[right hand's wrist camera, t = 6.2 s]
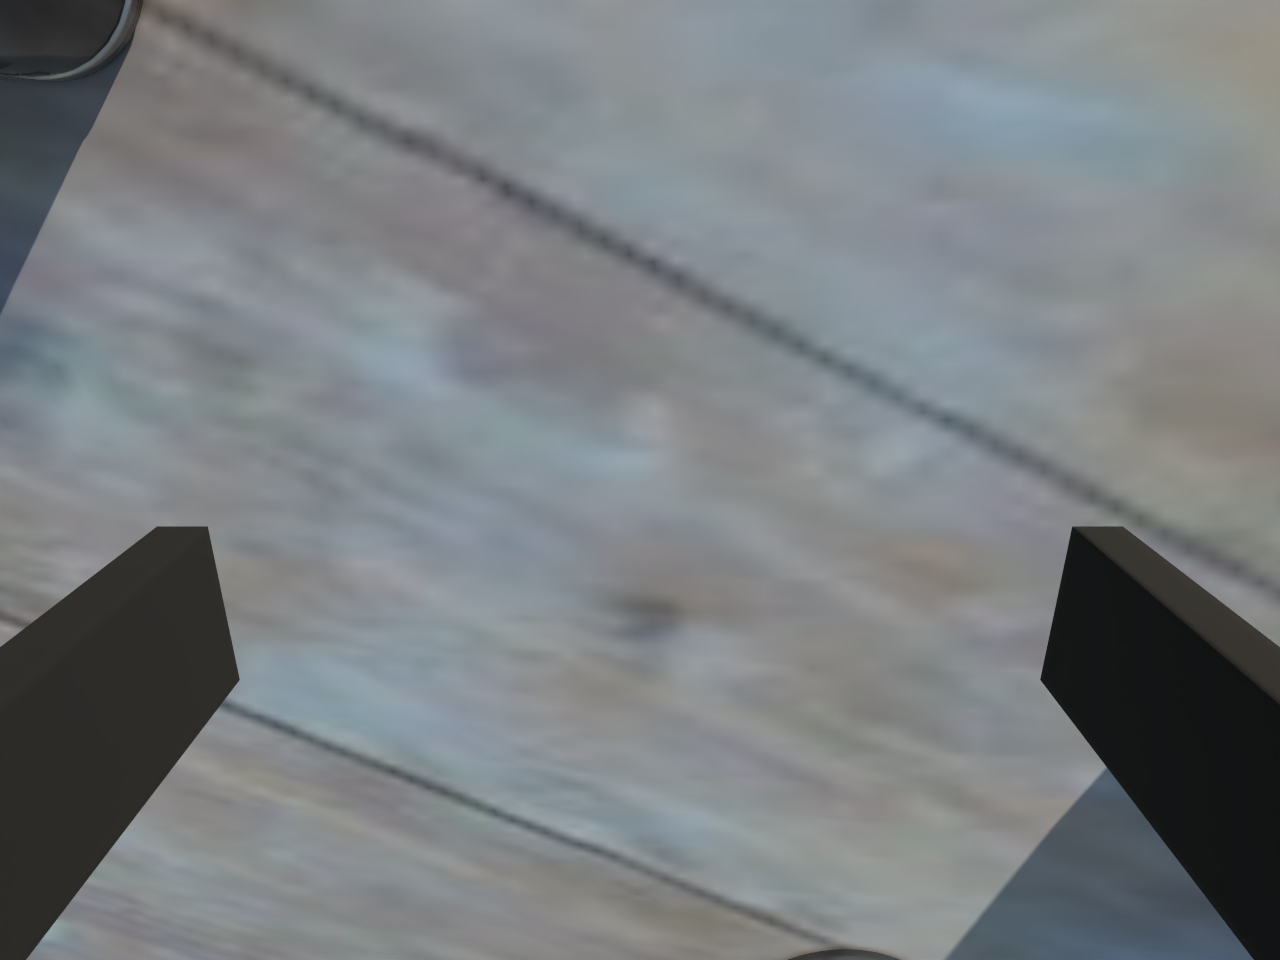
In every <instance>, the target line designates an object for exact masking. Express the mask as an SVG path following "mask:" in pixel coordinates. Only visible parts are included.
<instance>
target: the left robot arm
mask: <svg viewBox="0 0 1280 960" xmlns="http://www.w3.org/2000/svg"><path fill="white" fill-rule="evenodd" d="M142 3H143V0H0V74H5V75H11V76H15V77H20V78H26V79H33V80H41V81H68V80H74V79H78V78H82V77H85V76H88V75H90V74H92V73H95V72H97V71H98V70H100V69H102V68H103V67H105V66H106V65H107V64H109V63H110V62H111V61H112V60H114V59H115V58H116V57H117V56H118V55H119V54H120V52H121V51H122V50H123V49H124V47H125V46H126V44H127V43H128V41H129V40H130V38H131V36H132V34H133V32H134V30H135V28H136V25H137V22H138V19H139V16H140V12H141V8H142ZM0 79H1V80H9V81H16V80H11V79H6V78H1V77H0ZM18 82H21V81H18Z"/></svg>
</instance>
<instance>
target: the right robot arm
mask: <svg viewBox="0 0 1280 960" xmlns="http://www.w3.org/2000/svg"><path fill="white" fill-rule="evenodd" d="M239 680H240V679H239V674H238V670H237V665H236V660H235V655H234V651H233V646H232V641H231V636H230V631H229V627H228V622H227V617H226V612H225V607H224V603H223V598H222V593H221V588H220V584H219V579H218V574H217V569H216V564H215V560H214V555H213V550H212V545H211V541H210V536H209V531H208V527H156V528H155V529H153V530H152V531H151V532H149V533H148V534H147V535H146V536H144V537H143V538H142V539H140V540H139V541H138V542H136V543H135V544H134V545H133V546H131V547H130V548H129V549H127V550H126V551H125V552H123V553H122V554H121V555H120V556H118V557H117V558H116V559H114V560H113V561H112V562H110V563H109V564H108V565H107V566H105V567H104V568H103V569H101V570H100V571H99V572H97V573H96V574H95V575H94V576H92V577H91V578H90V579H88V580H87V581H86V582H84V583H83V584H82V585H81V586H79V587H78V588H77V589H75V590H74V591H73V592H71V593H70V594H69V595H68V596H66V597H65V598H64V599H62V600H61V601H60V602H58V603H57V604H56V605H55V606H53V607H52V608H51V609H49V610H48V611H47V612H45V613H44V614H43V615H42V616H40V617H39V618H38V619H36V620H35V621H34V622H32V623H31V624H30V625H29V626H27V627H26V628H25V629H23V630H22V631H21V632H19V633H18V634H17V635H16V636H14V637H13V638H12V639H10V640H9V641H8V642H6V643H5V644H4V645H3V646H1V647H0V960H26V959H27V958H28V956H29V955H30V954H31V952H32V951H33V950H34V949H35V947H36V946H37V945H38V943H39V942H40V941H41V939H42V938H43V937H44V935H45V934H46V933H47V932H48V930H49V929H50V928H51V926H52V925H53V924H54V922H55V921H56V920H57V918H58V917H59V916H60V914H61V913H62V912H63V911H64V909H65V908H66V907H67V905H68V904H69V903H70V901H71V900H72V899H73V897H74V896H75V895H76V894H77V892H78V891H79V890H80V888H81V887H82V886H83V884H84V883H85V882H86V880H87V879H88V878H89V876H90V875H91V874H92V873H93V871H94V870H95V869H96V867H97V866H98V865H99V863H100V862H101V861H102V859H103V858H104V857H105V856H106V854H107V853H108V852H109V850H110V849H111V848H112V846H113V845H114V844H115V842H116V841H117V840H118V838H119V837H120V836H121V835H122V833H123V832H124V831H125V829H126V828H127V827H128V825H129V824H130V823H131V821H132V820H133V819H134V818H135V816H136V815H137V814H138V812H139V811H140V810H141V808H142V807H143V806H144V804H145V803H146V802H147V800H148V799H149V798H150V797H151V795H152V794H153V793H154V791H155V790H156V789H157V787H158V786H159V785H160V783H161V782H162V781H163V780H164V778H165V777H166V776H167V774H168V773H169V772H170V770H171V769H172V768H173V766H174V765H175V764H176V762H177V761H178V760H179V759H180V757H181V756H182V755H183V753H184V752H185V751H186V749H187V748H188V747H189V745H190V744H191V743H192V742H193V740H194V739H195V738H196V736H197V735H198V734H199V732H200V731H201V730H202V728H203V727H204V726H205V724H206V723H207V722H208V721H209V719H210V718H211V717H212V715H213V714H214V713H215V711H216V710H217V709H218V707H219V706H220V705H221V704H222V702H223V701H224V700H225V698H226V697H227V696H228V694H229V693H230V692H231V690H232V689H233V688H234V686H235V685H236V684H237V683H238V681H239ZM1040 680H1041V681H1042V683H1043V684H1044V685H1045V686H1046V688H1047V689H1048V690H1049V692H1050V693H1051V694H1052V696H1053V697H1054V698H1055V700H1056V701H1057V702H1058V704H1059V705H1060V706H1061V707H1062V709H1063V710H1064V711H1065V713H1066V714H1067V715H1068V717H1069V718H1070V719H1071V721H1072V722H1073V723H1074V724H1075V726H1076V727H1077V728H1078V730H1079V731H1080V732H1081V734H1082V735H1083V736H1084V738H1085V739H1086V740H1087V742H1088V743H1089V744H1090V745H1091V747H1092V748H1093V749H1094V751H1095V752H1096V753H1097V755H1098V756H1099V757H1100V759H1101V760H1102V761H1103V762H1104V764H1105V765H1106V766H1107V768H1108V769H1109V770H1110V772H1111V773H1112V774H1113V776H1114V777H1115V778H1116V780H1117V781H1118V782H1119V783H1120V785H1121V786H1122V787H1123V789H1124V790H1125V791H1126V793H1127V794H1128V795H1129V797H1130V798H1131V799H1132V800H1133V802H1134V803H1135V804H1136V806H1137V807H1138V808H1139V810H1140V811H1141V812H1142V814H1143V815H1144V816H1145V818H1146V819H1147V820H1148V821H1149V823H1150V824H1151V825H1152V827H1153V828H1154V829H1155V831H1156V832H1157V833H1158V835H1159V836H1160V837H1161V838H1162V840H1163V841H1164V842H1165V844H1166V845H1167V846H1168V848H1169V849H1170V850H1171V852H1172V853H1173V854H1174V856H1175V857H1176V858H1177V859H1178V861H1179V862H1180V863H1181V865H1182V866H1183V867H1184V869H1185V870H1186V871H1187V873H1188V874H1189V875H1190V876H1191V878H1192V879H1193V880H1194V882H1195V883H1196V884H1197V886H1198V887H1199V888H1200V890H1201V891H1202V892H1203V894H1204V895H1205V896H1206V897H1207V899H1208V900H1209V901H1210V903H1211V904H1212V905H1213V907H1214V908H1215V909H1216V911H1217V912H1218V913H1219V914H1220V916H1221V917H1222V918H1223V920H1224V921H1225V922H1226V924H1227V925H1228V926H1229V928H1230V929H1231V930H1232V932H1233V933H1234V934H1235V935H1236V937H1237V938H1238V939H1239V941H1240V942H1241V943H1242V945H1243V946H1244V947H1245V949H1246V950H1247V951H1248V952H1249V954H1250V955H1251V956H1252V958H1253V959H1254V960H1280V647H1279V646H1277V645H1276V644H1275V643H1274V642H1272V641H1271V640H1270V639H1268V638H1267V637H1266V636H1264V635H1263V634H1262V633H1261V632H1259V631H1258V630H1257V629H1255V628H1254V627H1253V626H1251V625H1250V624H1249V623H1248V622H1246V621H1245V620H1244V619H1242V618H1241V617H1240V616H1238V615H1237V614H1236V613H1235V612H1233V611H1232V610H1231V609H1229V608H1228V607H1227V606H1225V605H1224V604H1223V603H1222V602H1220V601H1219V600H1218V599H1216V598H1215V597H1214V596H1212V595H1211V594H1210V593H1209V592H1207V591H1206V590H1205V589H1203V588H1202V587H1201V586H1199V585H1198V584H1197V583H1196V582H1194V581H1193V580H1192V579H1190V578H1189V577H1188V576H1186V575H1185V574H1184V573H1183V572H1181V571H1180V570H1179V569H1177V568H1176V567H1175V566H1173V565H1172V564H1171V563H1170V562H1168V561H1167V560H1166V559H1164V558H1163V557H1162V556H1160V555H1159V554H1158V553H1157V552H1155V551H1154V550H1153V549H1151V548H1150V547H1149V546H1147V545H1146V544H1145V543H1144V542H1142V541H1141V540H1140V539H1138V538H1137V537H1136V536H1134V535H1133V534H1132V533H1131V532H1129V531H1128V530H1127V529H1125V528H1124V527H1072V531H1071V536H1070V541H1069V545H1068V550H1067V555H1066V560H1065V564H1064V569H1063V574H1062V579H1061V584H1060V588H1059V593H1058V598H1057V603H1056V607H1055V612H1054V617H1053V622H1052V627H1051V631H1050V636H1049V641H1048V646H1047V651H1046V655H1045V660H1044V665H1043V670H1042V674H1041V679H1040ZM789 960H899V959H896V958H893V957H890V956H887V955H884V954H880V953H875V952H870V951H862V950H828V951H820V952H815V953H809V954H806V955H802V956H798V957H795V958H792V959H789Z"/></svg>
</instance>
